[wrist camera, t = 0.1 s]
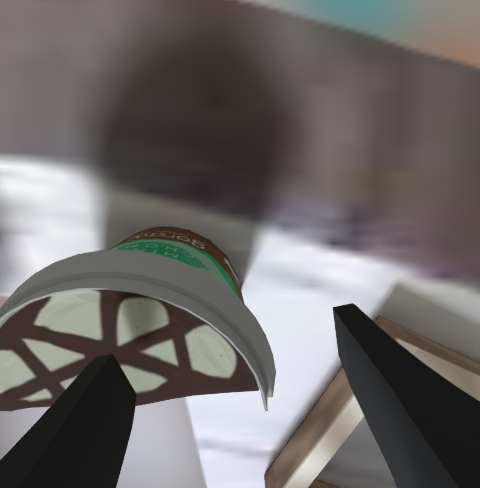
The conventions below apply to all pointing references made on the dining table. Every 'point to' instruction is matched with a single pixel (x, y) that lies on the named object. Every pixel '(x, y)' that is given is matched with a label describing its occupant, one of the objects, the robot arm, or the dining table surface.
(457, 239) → the dining table surface
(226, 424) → the dining table surface
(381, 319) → the frame
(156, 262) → the food container
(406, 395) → the robot arm
